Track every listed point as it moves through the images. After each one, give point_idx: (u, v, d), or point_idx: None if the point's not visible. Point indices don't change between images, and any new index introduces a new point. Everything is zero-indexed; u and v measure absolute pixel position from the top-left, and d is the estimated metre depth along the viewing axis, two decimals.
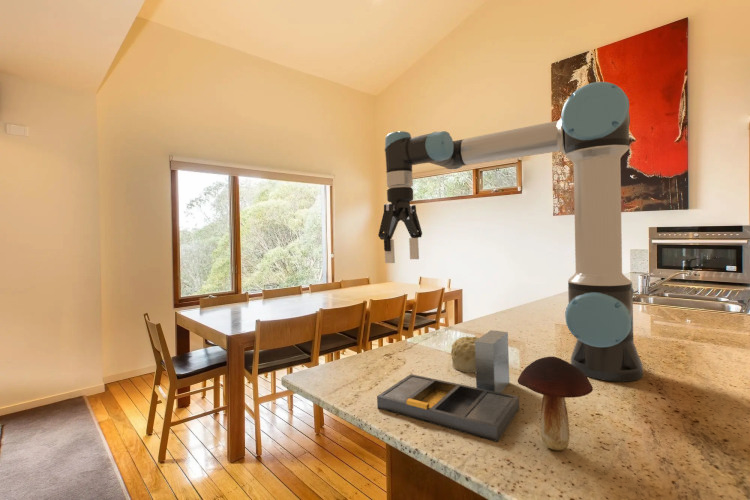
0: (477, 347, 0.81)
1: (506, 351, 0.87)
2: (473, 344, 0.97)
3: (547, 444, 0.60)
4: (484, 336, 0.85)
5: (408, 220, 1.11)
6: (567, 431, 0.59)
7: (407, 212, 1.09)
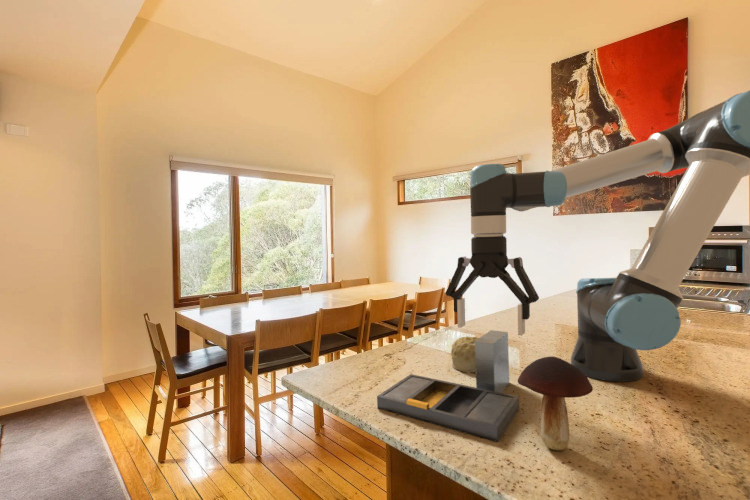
0: (477, 347, 0.81)
1: (506, 351, 0.87)
2: (473, 344, 0.97)
3: (547, 444, 0.60)
4: (484, 336, 0.85)
5: None
6: (567, 431, 0.59)
7: None
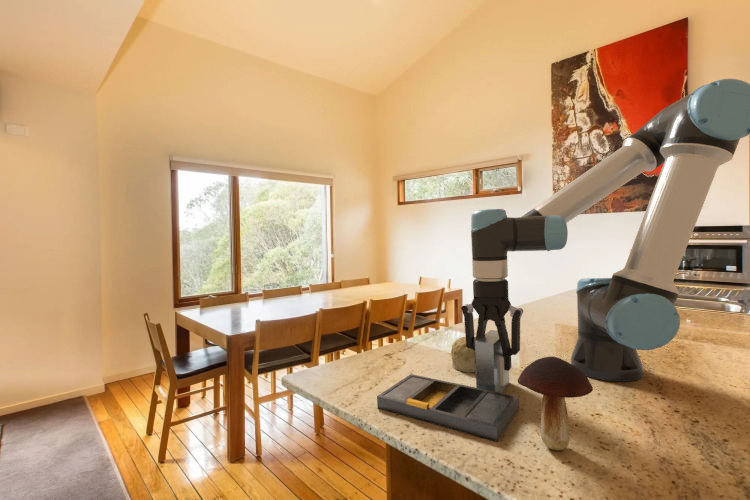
0: (477, 347, 0.81)
1: None
2: None
3: (547, 444, 0.60)
4: (484, 336, 0.85)
5: None
6: (567, 431, 0.59)
7: None
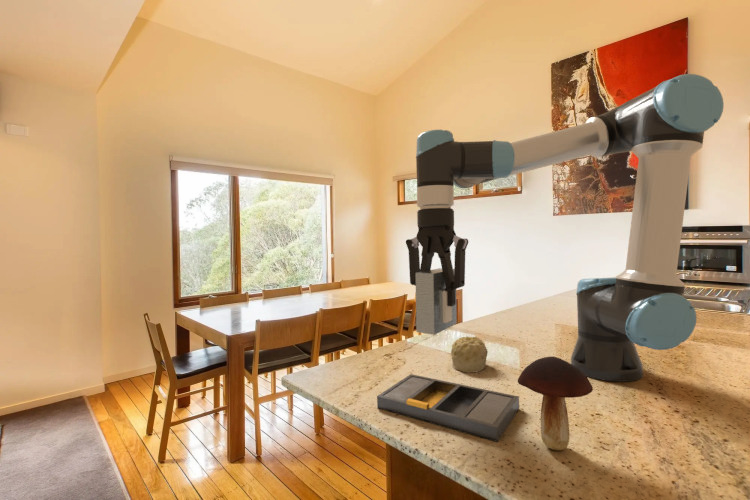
0: (417, 279, 0.75)
1: None
2: (473, 344, 0.97)
3: (547, 444, 0.60)
4: (429, 270, 0.79)
5: None
6: (567, 431, 0.59)
7: None
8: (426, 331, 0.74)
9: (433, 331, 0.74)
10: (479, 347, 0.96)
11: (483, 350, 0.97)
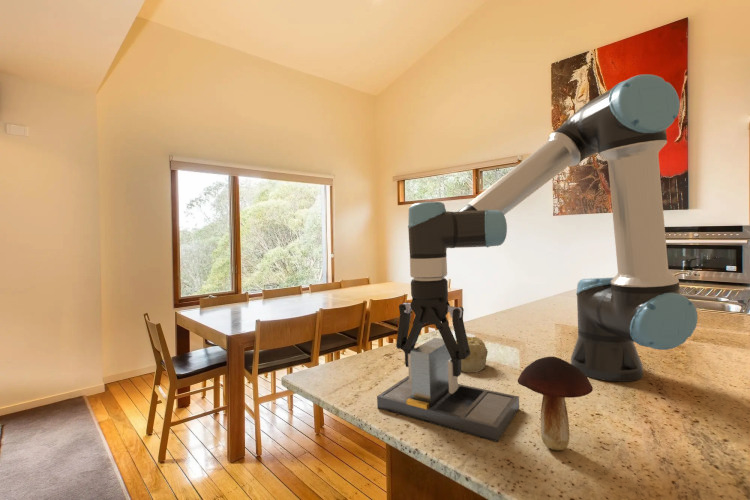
0: (413, 357, 0.74)
1: None
2: (473, 344, 0.97)
3: (547, 444, 0.60)
4: (424, 345, 0.78)
5: None
6: (567, 431, 0.59)
7: None
8: None
9: None
10: (479, 347, 0.96)
11: (483, 350, 0.97)
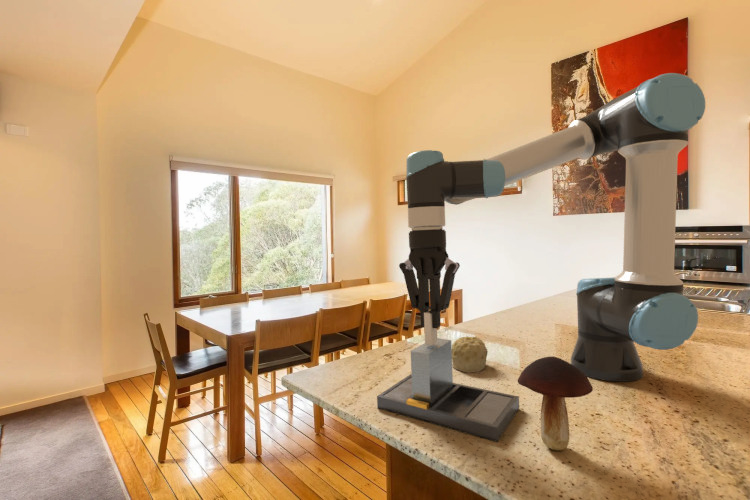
0: (413, 357, 0.74)
1: (449, 361, 0.80)
2: (473, 344, 0.97)
3: (547, 444, 0.60)
4: (424, 345, 0.78)
5: None
6: (567, 431, 0.59)
7: None
8: None
9: None
10: (479, 347, 0.96)
11: (483, 350, 0.97)
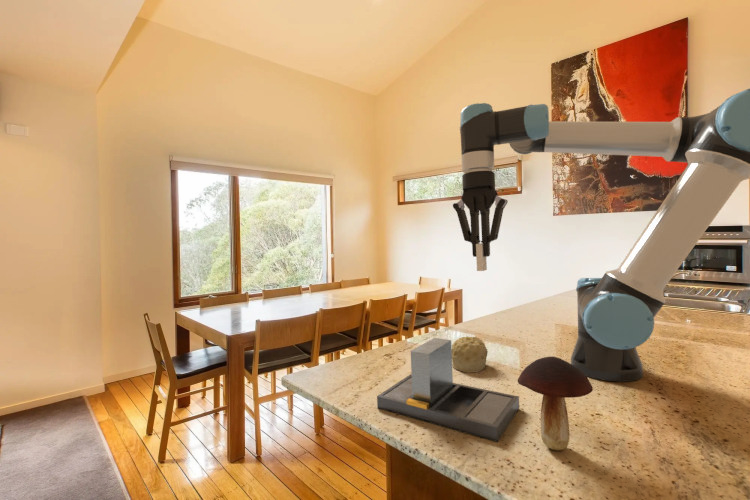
0: (413, 357, 0.74)
1: (449, 361, 0.80)
2: (473, 344, 0.97)
3: (547, 444, 0.60)
4: (424, 345, 0.78)
5: None
6: (567, 431, 0.59)
7: None
8: None
9: None
10: (479, 347, 0.96)
11: (483, 350, 0.97)
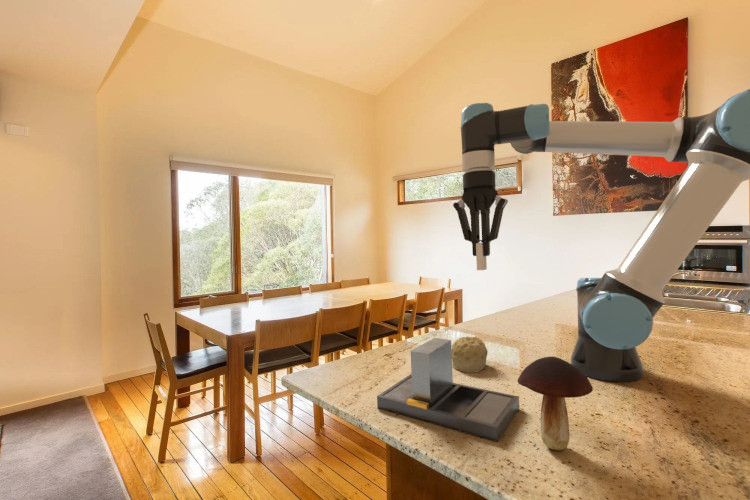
0: (413, 357, 0.74)
1: (449, 361, 0.80)
2: (473, 344, 0.97)
3: (547, 444, 0.60)
4: (424, 345, 0.78)
5: None
6: (567, 431, 0.59)
7: None
8: None
9: None
10: (479, 347, 0.96)
11: (483, 350, 0.97)
